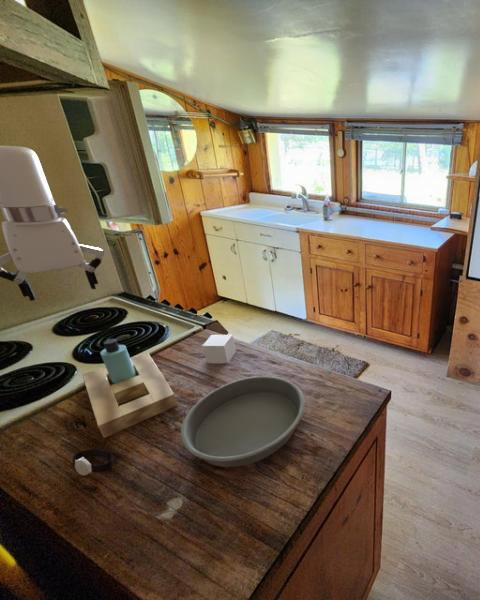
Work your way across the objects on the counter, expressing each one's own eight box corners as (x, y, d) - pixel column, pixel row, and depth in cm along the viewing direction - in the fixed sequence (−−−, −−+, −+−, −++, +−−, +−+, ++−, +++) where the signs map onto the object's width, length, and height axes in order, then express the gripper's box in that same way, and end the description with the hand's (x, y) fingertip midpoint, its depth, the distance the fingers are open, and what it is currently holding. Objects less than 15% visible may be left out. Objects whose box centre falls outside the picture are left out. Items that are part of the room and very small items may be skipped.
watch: (66, 471, 61) (59, 458, 60) (93, 451, 66) (86, 438, 64) (99, 481, 60) (92, 467, 58) (124, 459, 64) (118, 446, 63)
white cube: (206, 363, 93) (201, 345, 91) (215, 351, 98) (211, 334, 96) (227, 363, 93) (223, 345, 91) (236, 351, 99) (232, 334, 96)
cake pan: (162, 482, 60) (155, 466, 58) (211, 393, 82) (207, 378, 80) (298, 468, 64) (296, 452, 62) (310, 386, 86) (309, 372, 84)
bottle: (117, 394, 80) (98, 349, 75) (113, 385, 83) (95, 341, 77) (141, 385, 83) (124, 341, 78) (136, 377, 86) (120, 333, 81)
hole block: (103, 438, 69) (97, 425, 67) (87, 385, 83) (82, 374, 81) (178, 405, 78) (174, 394, 76) (151, 363, 92) (148, 352, 91)
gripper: (87, 208, 73) (111, 279, 80) (-36, 215, 61) (5, 297, 68) (92, 213, 68) (117, 288, 75) (-40, 222, 56) (5, 309, 63)
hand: (64, 292), depth 72 cm, fingers open, 9 cm apart
